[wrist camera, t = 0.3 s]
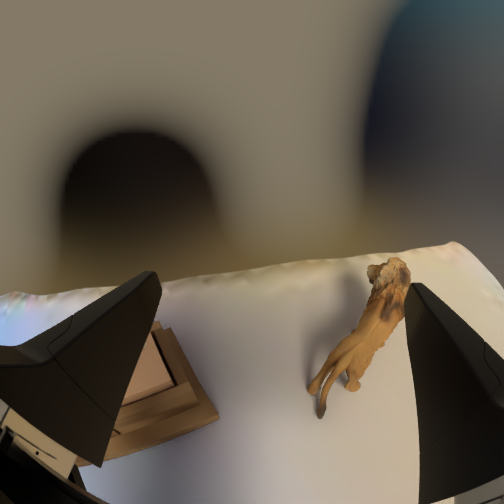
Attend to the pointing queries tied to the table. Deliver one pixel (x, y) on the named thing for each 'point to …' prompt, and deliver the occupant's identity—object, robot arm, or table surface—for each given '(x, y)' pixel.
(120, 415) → the button board
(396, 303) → the lion figurine
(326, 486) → the table surface
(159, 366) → the three-pip button
